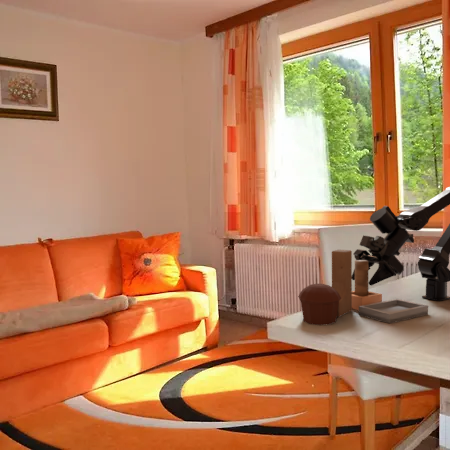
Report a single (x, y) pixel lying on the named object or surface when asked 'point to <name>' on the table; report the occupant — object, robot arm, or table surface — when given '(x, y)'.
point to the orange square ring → (365, 299)
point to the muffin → (319, 304)
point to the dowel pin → (361, 278)
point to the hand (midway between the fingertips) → (360, 281)
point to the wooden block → (342, 279)
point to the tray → (393, 310)
